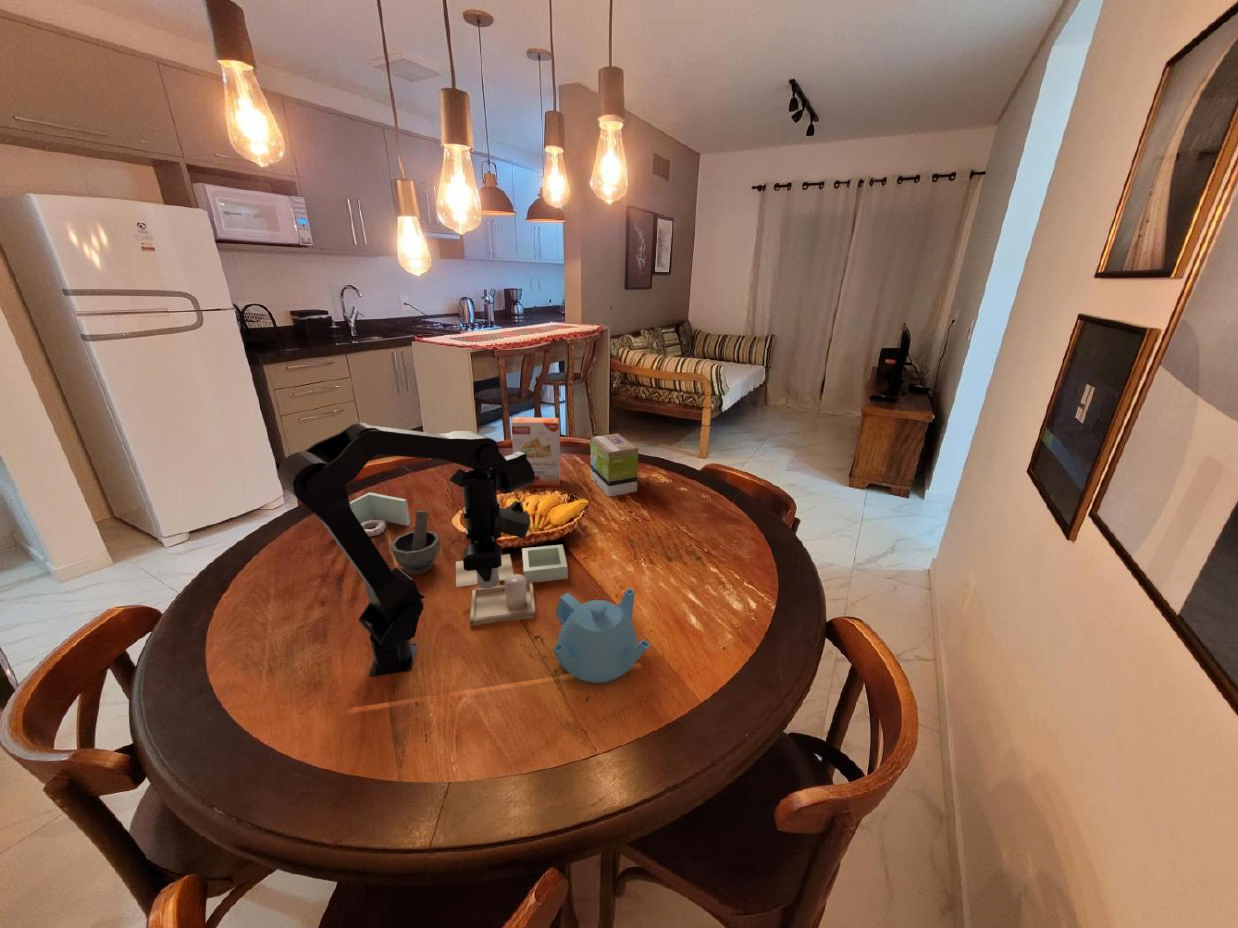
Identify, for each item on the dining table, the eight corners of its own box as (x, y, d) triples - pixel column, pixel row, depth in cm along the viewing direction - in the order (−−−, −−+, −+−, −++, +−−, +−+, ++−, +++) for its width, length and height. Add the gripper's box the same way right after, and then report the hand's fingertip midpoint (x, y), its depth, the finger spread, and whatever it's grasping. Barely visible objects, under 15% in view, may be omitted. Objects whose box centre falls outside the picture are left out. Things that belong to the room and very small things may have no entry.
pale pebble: (527, 608, 94) (526, 584, 92) (506, 610, 93) (504, 587, 91) (526, 595, 98) (525, 573, 96) (506, 598, 97) (504, 575, 95)
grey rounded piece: (499, 587, 91) (497, 562, 89) (477, 589, 90) (474, 564, 88) (499, 574, 94) (497, 550, 92) (478, 577, 94) (475, 553, 92)
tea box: (589, 479, 155) (589, 435, 150) (617, 474, 159) (618, 432, 154) (608, 497, 143) (608, 451, 137) (638, 492, 147) (639, 447, 141)
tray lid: (514, 580, 103) (514, 573, 102) (456, 589, 100) (455, 582, 99) (509, 556, 112) (509, 549, 111) (455, 563, 108) (455, 557, 108)
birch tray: (535, 619, 92) (535, 612, 91) (470, 627, 89) (469, 620, 88) (532, 588, 101) (532, 581, 100) (473, 595, 98) (472, 588, 98)
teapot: (636, 625, 91) (638, 577, 87) (649, 688, 77) (652, 634, 73) (555, 629, 89) (553, 580, 86) (553, 694, 76) (551, 640, 72)
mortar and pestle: (432, 581, 102) (425, 532, 98) (388, 580, 102) (379, 531, 98) (450, 553, 113) (444, 507, 108) (410, 552, 113) (403, 506, 108)
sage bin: (567, 580, 104) (567, 566, 102) (524, 585, 102) (523, 571, 100) (562, 557, 112) (562, 544, 111) (522, 561, 110) (522, 548, 109)
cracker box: (514, 486, 148) (510, 421, 141) (517, 479, 154) (513, 416, 146) (559, 486, 149) (558, 422, 141) (561, 479, 155) (559, 416, 147)
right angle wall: (336, 538, 118) (330, 511, 115) (374, 517, 129) (369, 492, 126) (375, 548, 115) (370, 520, 112) (410, 525, 125) (406, 499, 122)
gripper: (529, 521, 79) (533, 599, 85) (524, 477, 96) (527, 545, 102) (458, 527, 77) (467, 607, 82) (466, 481, 94) (473, 550, 99)
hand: (487, 574), depth 92 cm, fingers closed on grey rounded piece, 4 cm apart
